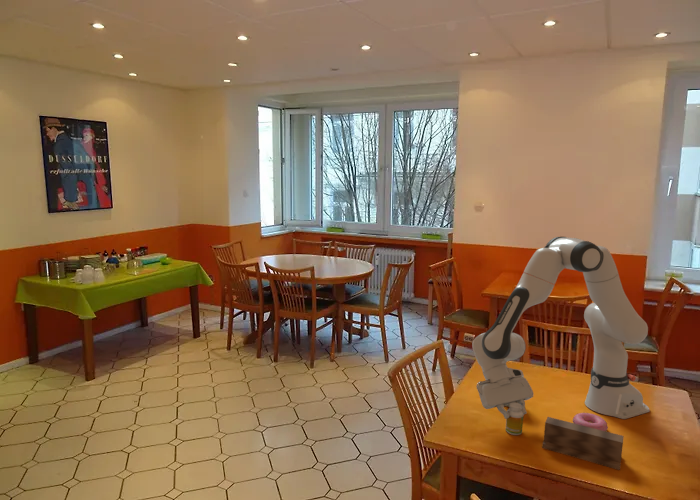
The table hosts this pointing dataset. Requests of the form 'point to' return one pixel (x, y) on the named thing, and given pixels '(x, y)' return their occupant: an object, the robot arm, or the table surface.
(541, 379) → the table surface
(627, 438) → the table surface
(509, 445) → the table surface
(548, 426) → the beam
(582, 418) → the doughnut
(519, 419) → the supplement bottle
